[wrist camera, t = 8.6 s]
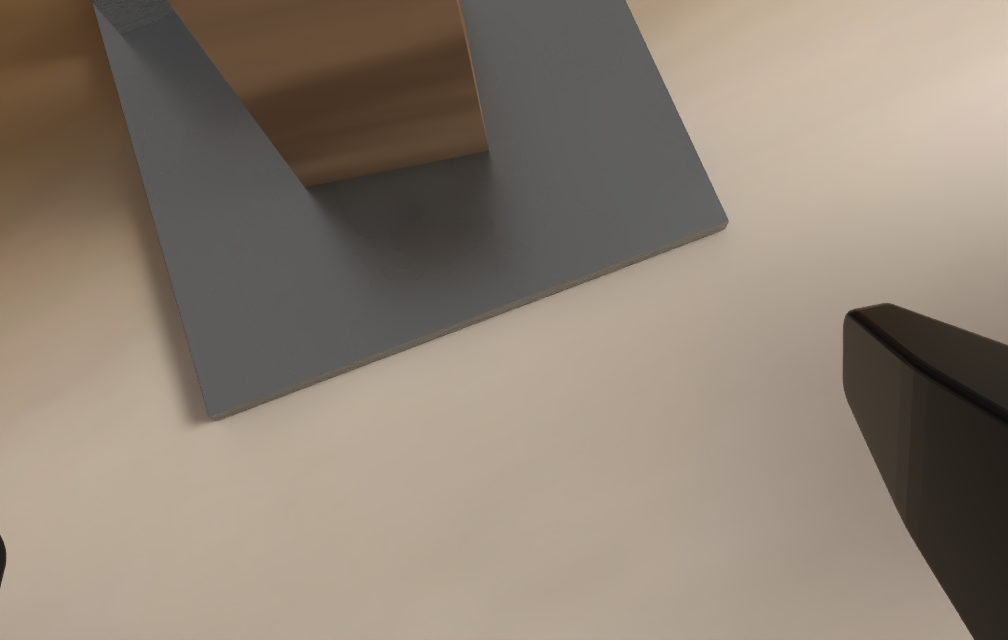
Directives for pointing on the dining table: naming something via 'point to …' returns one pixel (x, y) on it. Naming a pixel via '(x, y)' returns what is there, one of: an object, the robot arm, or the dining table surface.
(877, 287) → the dining table surface
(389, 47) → the link block
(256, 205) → the keeper
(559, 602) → the dining table surface
